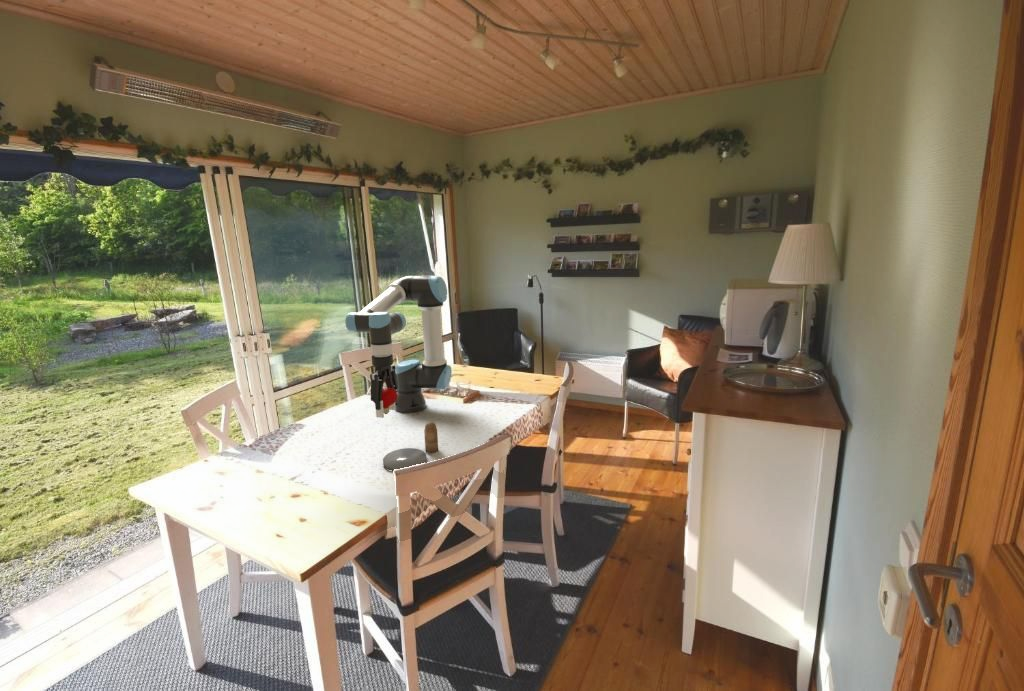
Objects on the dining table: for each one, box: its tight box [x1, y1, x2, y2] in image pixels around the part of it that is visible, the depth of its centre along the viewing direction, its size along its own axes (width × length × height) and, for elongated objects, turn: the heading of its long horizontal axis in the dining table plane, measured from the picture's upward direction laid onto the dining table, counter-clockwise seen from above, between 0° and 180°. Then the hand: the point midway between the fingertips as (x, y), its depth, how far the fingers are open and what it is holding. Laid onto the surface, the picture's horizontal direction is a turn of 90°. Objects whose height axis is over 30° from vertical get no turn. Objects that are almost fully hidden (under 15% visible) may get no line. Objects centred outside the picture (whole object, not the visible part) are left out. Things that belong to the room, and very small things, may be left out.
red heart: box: [372, 387, 398, 415], centre depth 178 cm, size 9×7×10 cm
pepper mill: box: [423, 421, 439, 454], centre depth 187 cm, size 5×5×12 cm
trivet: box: [382, 447, 427, 472], centre depth 179 cm, size 16×16×2 cm
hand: (386, 413), depth 179 cm, fingers closed on red heart, 7 cm apart
